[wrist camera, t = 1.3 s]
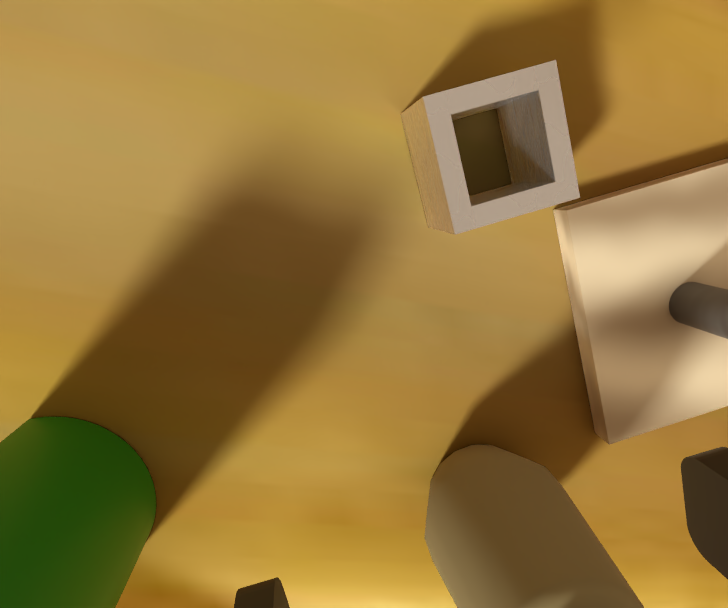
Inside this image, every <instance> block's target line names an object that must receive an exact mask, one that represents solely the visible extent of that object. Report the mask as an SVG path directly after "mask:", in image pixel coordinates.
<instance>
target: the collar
mask: <svg viewBox="0 0 728 608" xmlns="http://www.w3.org/2000/svg"><path fill="white" fill-rule="evenodd" d="M495 108H496V109H497V114H498V119H499V124H500V129H501V134H502V138H503V143H504V148H505V153H506V158H507V163H508V168H509V173H510V178H511V183H512V184H509V185H506V186H502V187H499V188H495V189H492V190H488V191H485V192H482V193H478V194H475V195H471V196H469V194H468V189H467V185H466V181H465V176H464V172H463V167H462V163H461V158H460V154H459V149H458V145H457V140H456V136H455V132H454V127H453V123H452V120H456V119H459V118H463V117H467V116H470V115H474V114H477V113H481V112H484V111H488V110H492V109H495ZM401 118H402V122H403V126H404V130H405V134H406V138H407V143H408V147H409V151H410V155H411V159H412V163H413V167H414V171H415V175H416V179H417V183H418V187H419V191H420V195H421V199H422V204H423V208H424V212H425V216H426V220H427V224H428V227H429V228H433V229H436V230H440V231H444V232H448V233H451V234H458V233H462V232H465V231H469V230H472V229H475V228H479V227H482V226H486V225H489V224H492V223H496V222H499V221H503V220H506V219H509V218H513V217H516V216H519V215H523V214H526V213H530V212H533V211H536V210H540V209H543V208H547V207H550V206H553V205H557V204H560V203H564V202H567V201H570V200H574V199H577V198H580V194H579V188H578V182H577V177H576V171H575V165H574V159H573V154H572V148H571V142H570V137H569V131H568V125H567V120H566V114H565V108H564V102H563V97H562V91H561V85H560V80H559V74H558V68H557V62H556V60H554V61H550V62H546V63H543V64H539V65H536V66H532V67H528V68H525V69H521V70H517V71H514V72H510V73H507V74H503V75H499V76H496V77H492V78H489V79H485V80H481V81H478V82H474V83H471V84H467V85H463V86H460V87H456V88H453V89H449V90H445V91H442V92H438V93H435V94H431V95H427V96H424V97H422V98H421V99H419V100H418V101H417V102H415V103H414V104H413V105H412V106H410V107H409V108H408V109H406V110H405V111H404V112H402V113H401Z"/></svg>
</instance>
